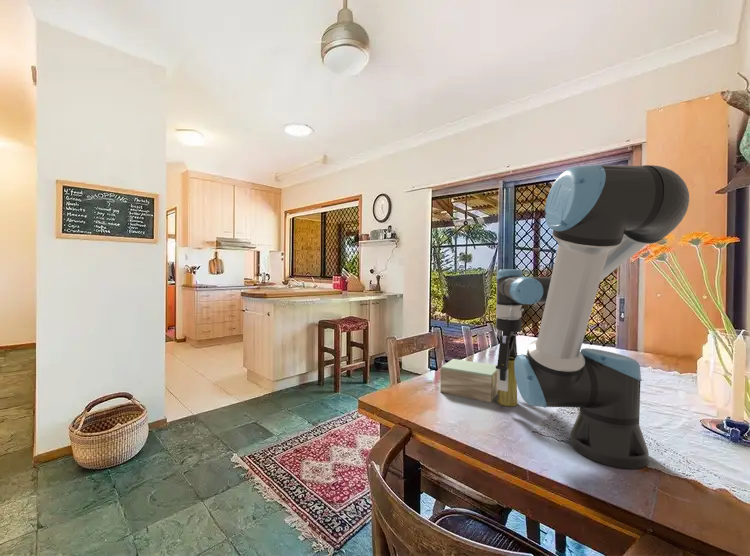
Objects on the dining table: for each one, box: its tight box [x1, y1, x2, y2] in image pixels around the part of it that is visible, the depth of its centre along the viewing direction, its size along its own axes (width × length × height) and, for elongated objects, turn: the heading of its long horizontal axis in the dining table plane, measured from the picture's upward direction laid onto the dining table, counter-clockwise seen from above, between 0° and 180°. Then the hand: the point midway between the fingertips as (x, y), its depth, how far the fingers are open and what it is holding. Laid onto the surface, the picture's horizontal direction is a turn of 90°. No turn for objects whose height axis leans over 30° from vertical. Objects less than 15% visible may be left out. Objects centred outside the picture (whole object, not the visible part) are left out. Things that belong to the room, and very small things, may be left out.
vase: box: [496, 357, 518, 407], centre depth 109 cm, size 6×6×14 cm
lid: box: [440, 358, 499, 377], centre depth 119 cm, size 12×17×1 cm
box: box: [439, 368, 499, 403], centre depth 119 cm, size 13×17×8 cm
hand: (507, 383), depth 109 cm, fingers open, 13 cm apart
